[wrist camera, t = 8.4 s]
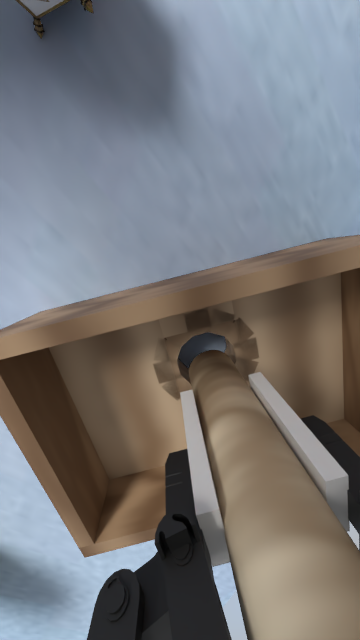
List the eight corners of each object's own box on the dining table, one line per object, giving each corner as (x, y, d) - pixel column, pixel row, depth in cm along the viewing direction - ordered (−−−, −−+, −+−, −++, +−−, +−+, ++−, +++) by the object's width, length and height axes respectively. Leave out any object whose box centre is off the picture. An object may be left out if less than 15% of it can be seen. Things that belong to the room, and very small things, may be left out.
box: (108, 464, 25) (84, 557, 17) (40, 311, 19) (-40, 347, 12) (333, 405, 25) (410, 472, 17) (326, 238, 19) (433, 226, 12)
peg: (194, 395, 18) (294, 838, 4) (184, 356, 17) (273, 778, 3) (237, 384, 18) (473, 790, 4) (229, 344, 17) (511, 714, 3)
